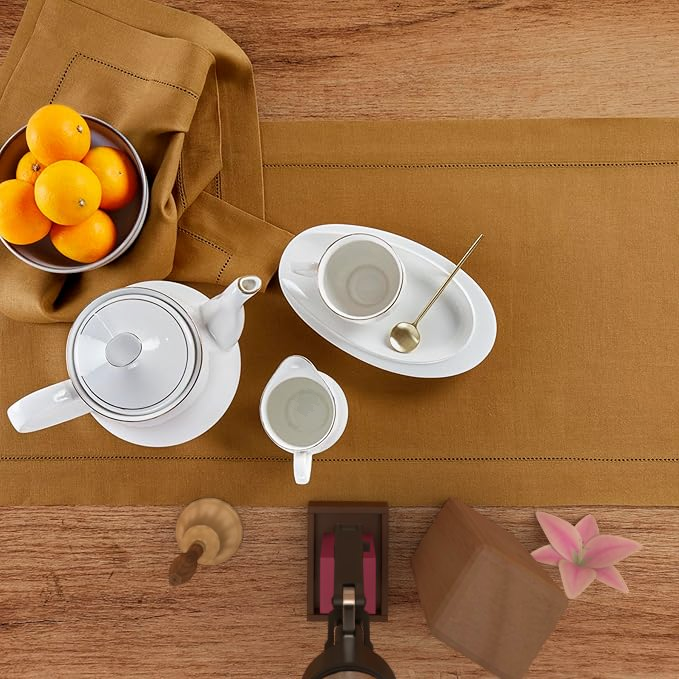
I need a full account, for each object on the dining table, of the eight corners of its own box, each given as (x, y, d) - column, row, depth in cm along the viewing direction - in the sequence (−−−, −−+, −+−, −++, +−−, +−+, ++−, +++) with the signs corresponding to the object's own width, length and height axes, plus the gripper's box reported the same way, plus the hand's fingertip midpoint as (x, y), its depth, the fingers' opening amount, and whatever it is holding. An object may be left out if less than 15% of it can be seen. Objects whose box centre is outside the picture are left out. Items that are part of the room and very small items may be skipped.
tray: (386, 612, 80) (388, 622, 77) (308, 611, 80) (306, 621, 77) (387, 501, 80) (388, 507, 77) (308, 500, 80) (307, 506, 77)
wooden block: (518, 536, 80) (576, 602, 60) (474, 605, 80) (517, 694, 60) (449, 492, 80) (484, 543, 60) (405, 561, 80) (425, 635, 60)
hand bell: (242, 565, 80) (217, 620, 64) (175, 564, 80) (133, 619, 64) (243, 497, 80) (218, 536, 64) (176, 496, 80) (134, 534, 64)
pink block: (372, 583, 79) (375, 614, 70) (322, 582, 79) (319, 613, 70) (372, 533, 79) (375, 558, 70) (323, 533, 79) (320, 557, 70)
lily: (634, 540, 80) (656, 521, 72) (608, 634, 76) (629, 625, 67) (538, 501, 84) (548, 479, 76) (508, 589, 80) (516, 575, 71)
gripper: (295, 539, 45) (311, 480, 66) (293, 905, 45) (310, 727, 66) (404, 540, 45) (385, 480, 66) (403, 906, 45) (384, 728, 66)
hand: (348, 603), depth 66 cm, fingers open, 13 cm apart
